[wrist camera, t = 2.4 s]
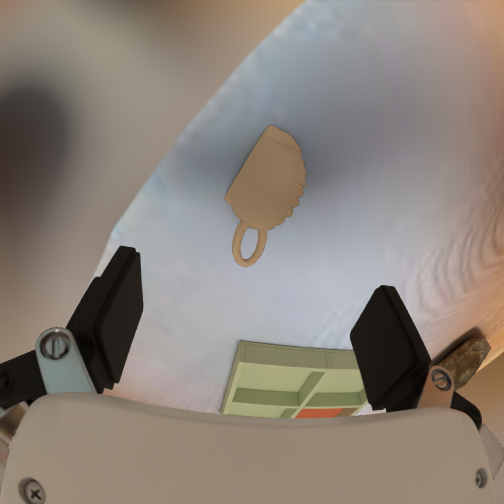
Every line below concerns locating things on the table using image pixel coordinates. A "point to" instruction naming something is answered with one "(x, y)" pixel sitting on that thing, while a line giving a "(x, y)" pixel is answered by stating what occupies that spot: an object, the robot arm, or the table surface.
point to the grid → (293, 383)
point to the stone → (466, 360)
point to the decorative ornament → (266, 189)
